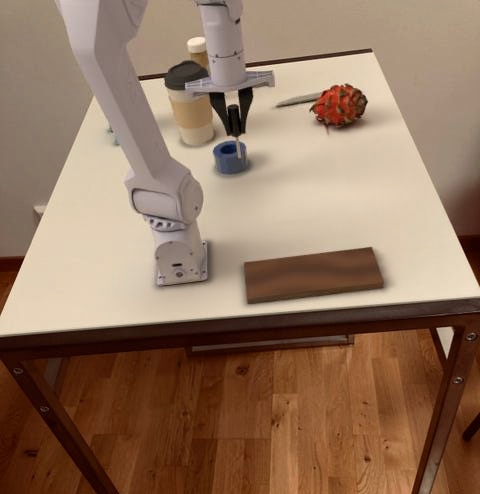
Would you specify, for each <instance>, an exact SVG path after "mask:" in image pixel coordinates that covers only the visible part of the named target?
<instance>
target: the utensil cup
mask: <svg viewBox="0 0 480 494" xmlns="http://www.w3.org/2000/svg"><path fill="white" fill-rule="evenodd" d="M239 145H240V153H241V158H238V153H237V145H236V140H234V139H233V140H225V141H222V142H220V143H218V144H217V145H215V146H214V147H213V150H212V156H213V161H214V166H215V169H216V171H217V172H218V173H219V174H223V175H236V174H239V173H241V172H243V171H244V170H246V168H247V167H248V165H249V159H248V151H247V145H246V144H245V142H242V141H240V140H239Z"/></svg>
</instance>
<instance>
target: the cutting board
mask: <svg viewBox="0 0 480 494" xmlns="http://www.w3.org/2000/svg"><path fill="white" fill-rule="evenodd" d="M243 267H244V268H243V270H244V282H245V296H246V303H247V304H248V305H249V304H257V303H266V302H274V301H282V300H283V301H284V300H292V299H300V298H307V297H309V298H310V297H317V296H324V295H325V296H326V295H333V294H342V293H349V292H350V293H351V292H360V291H367V290H368V291H369V290H376V289H383V288H384V285H385V282H384V278H383V276H382V272H381V270H380V267H379V264H378V261H377V258H376V254H375V252H374V249H373V246H367V247H359V248H350V249H342V250H334V251H326V252H318V253H317V252H316V253H308V254H301V255H293V256H285V257H276V258H268V259H261V260H253V261H245V262H243Z"/></svg>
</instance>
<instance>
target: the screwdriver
mask: <svg viewBox="0 0 480 494" xmlns="http://www.w3.org/2000/svg"><path fill="white" fill-rule="evenodd" d="M226 108H227V113H228V118H229V125H230V130H231V136H230V137H232V138H235V141H236V145H237V153H238V158H241V153H240V145H239V141H240V139H239V138H240V137H241V136H242V135H243V134H242V131H241V120H240V106H239V104H236V103H231V104H229V105H227V106H226Z"/></svg>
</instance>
